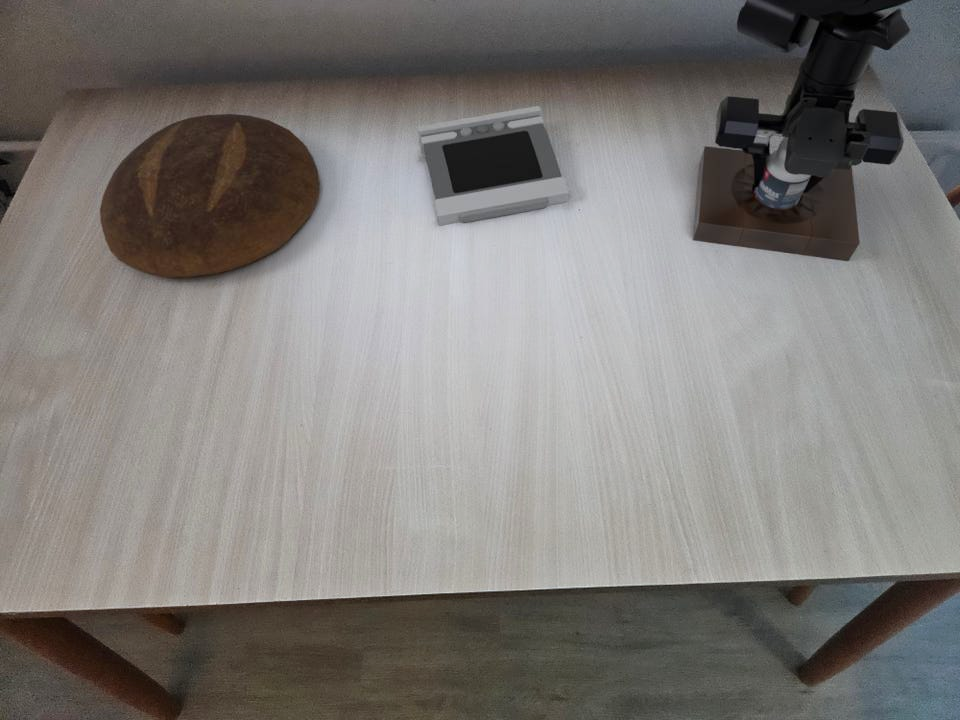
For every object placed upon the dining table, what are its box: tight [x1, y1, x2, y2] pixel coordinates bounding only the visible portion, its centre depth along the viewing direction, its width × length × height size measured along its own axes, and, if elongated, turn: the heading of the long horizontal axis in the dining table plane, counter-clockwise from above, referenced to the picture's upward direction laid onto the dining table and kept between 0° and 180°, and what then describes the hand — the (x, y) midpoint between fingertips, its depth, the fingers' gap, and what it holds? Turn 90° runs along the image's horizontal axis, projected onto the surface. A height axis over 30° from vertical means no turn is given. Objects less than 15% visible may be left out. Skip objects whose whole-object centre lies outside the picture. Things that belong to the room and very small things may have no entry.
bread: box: [99, 113, 321, 278], centre depth 83 cm, size 28×27×9 cm
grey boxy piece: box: [417, 105, 571, 226], centre depth 86 cm, size 17×5×16 cm
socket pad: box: [692, 145, 860, 262], centre depth 80 cm, size 18×14×3 cm
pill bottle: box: [753, 137, 811, 209], centre depth 76 cm, size 5×5×9 cm
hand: (779, 187), depth 78 cm, fingers closed on pill bottle, 5 cm apart
